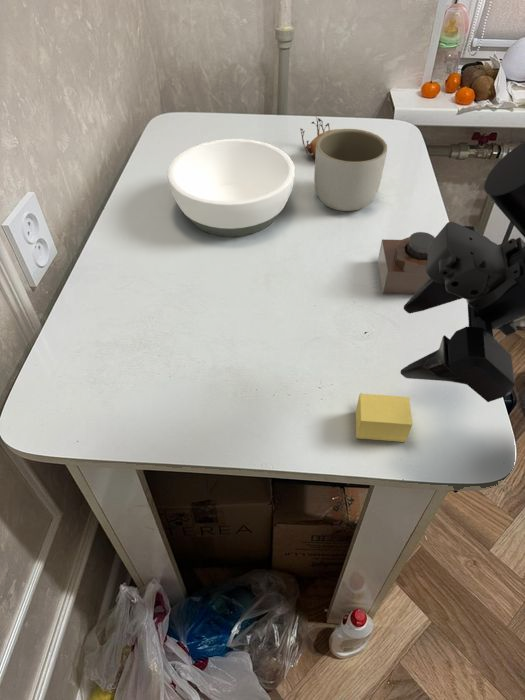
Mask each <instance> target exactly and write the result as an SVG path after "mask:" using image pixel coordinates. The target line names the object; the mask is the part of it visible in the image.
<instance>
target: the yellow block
mask: <svg viewBox="0 0 525 700" xmlns="http://www.w3.org/2000/svg"><path fill="white" fill-rule="evenodd" d="M411 409H412V408H411V401H410V397H409V396H400V395H399V396H398V395H384V394H371V393H370V394H369V393H359V395H358V400H357V404H356V408H355V437H356V439H361V440H374V441H388V442H401V443H405V442H406V441H407V438H408V436H409V434H410V431H411V429H412V426H413V420H412V417H413V416H412V410H411Z"/></svg>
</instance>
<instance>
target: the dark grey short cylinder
mask: <svg viewBox="0 0 525 700" xmlns="http://www.w3.org/2000/svg"><path fill="white" fill-rule="evenodd" d="M409 237H410V238H409V241H408V245H407V249H406V253H407V254H408V255H409V256H410V257H412V258H415V259H417V260H428V253H426V249H427V247H428V246H429V245H430V243H431V242H432V241H433V240H434V238H435V237H436V236H434V235H433V234H431V233H429V232H425V231H417V232H413V233H412V234H410V236H409Z"/></svg>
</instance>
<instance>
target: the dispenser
mask: <svg viewBox="0 0 525 700" xmlns="http://www.w3.org/2000/svg"><path fill="white" fill-rule="evenodd" d="M409 238H410V236H408V237H405V238H403V239H381V242H380V246H379V252H378V257H377V266H378V272H379V279H380V284H381V290H382V293H383V294H395V295H397V294H399V295H414V294H415V293H416V292H417V291H418V290H419V289H420V288H421V287H422V286H423V285H424V284H425V283H426V281H427V280H428V279H429V278H430V277H429V276H428V274H427V272H426V266H427V260H417V259H415V258H412V257H410V256H409V255H408V254H407V253H406V249H407V245H408V241H409Z"/></svg>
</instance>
